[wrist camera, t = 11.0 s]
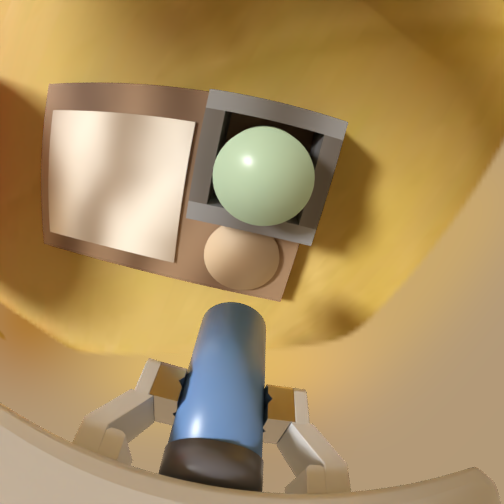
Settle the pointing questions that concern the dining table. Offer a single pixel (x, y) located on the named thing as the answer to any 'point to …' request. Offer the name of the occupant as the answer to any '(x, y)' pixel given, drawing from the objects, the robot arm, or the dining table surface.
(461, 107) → the dining table surface
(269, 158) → the button
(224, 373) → the marker
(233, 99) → the board
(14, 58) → the dining table surface
